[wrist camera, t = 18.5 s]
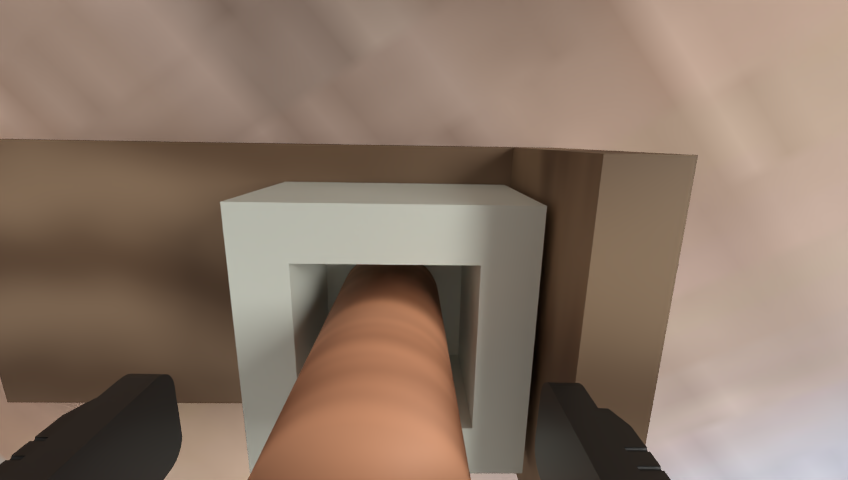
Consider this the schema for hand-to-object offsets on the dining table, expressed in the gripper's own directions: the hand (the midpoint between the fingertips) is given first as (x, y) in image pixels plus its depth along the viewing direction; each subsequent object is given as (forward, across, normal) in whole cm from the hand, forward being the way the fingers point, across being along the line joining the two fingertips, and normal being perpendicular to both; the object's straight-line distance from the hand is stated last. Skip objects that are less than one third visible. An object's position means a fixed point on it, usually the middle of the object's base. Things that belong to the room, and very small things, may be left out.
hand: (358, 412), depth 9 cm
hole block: (+9, 0, 0) cm, 9 cm away
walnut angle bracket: (+10, +5, +1) cm, 11 cm away
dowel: (+8, 0, +1) cm, 8 cm away
